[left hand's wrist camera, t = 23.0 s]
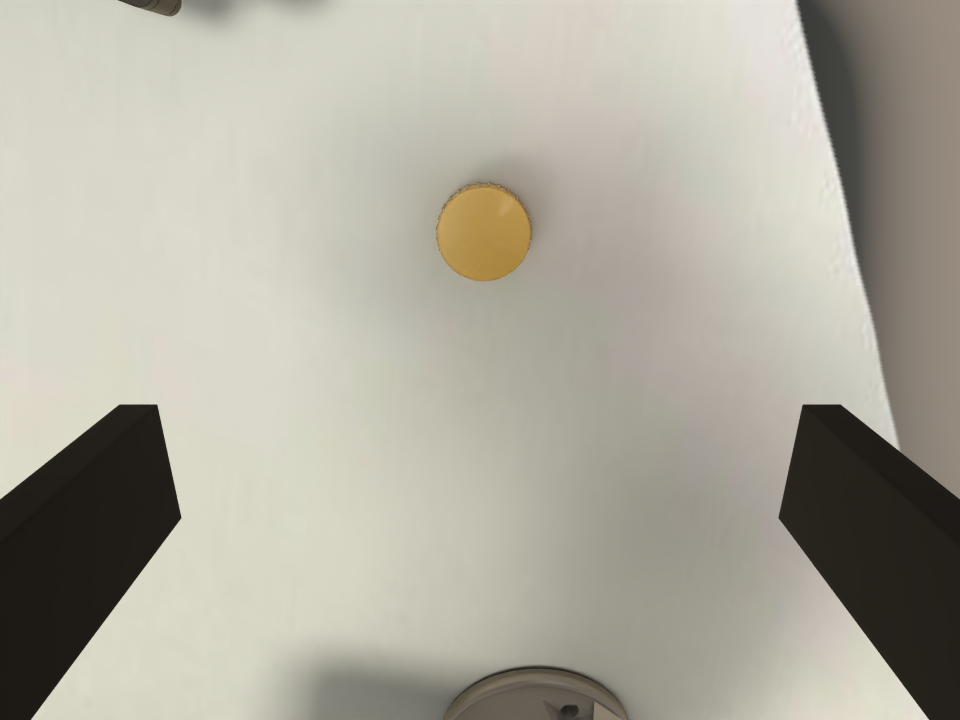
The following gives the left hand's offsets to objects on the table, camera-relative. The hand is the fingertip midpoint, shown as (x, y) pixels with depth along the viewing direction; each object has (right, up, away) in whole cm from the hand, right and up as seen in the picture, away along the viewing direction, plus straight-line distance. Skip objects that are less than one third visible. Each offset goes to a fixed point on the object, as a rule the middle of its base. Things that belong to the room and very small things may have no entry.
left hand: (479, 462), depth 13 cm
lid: (0, +9, +20) cm, 22 cm away
